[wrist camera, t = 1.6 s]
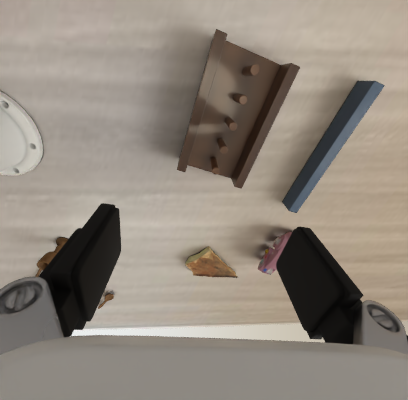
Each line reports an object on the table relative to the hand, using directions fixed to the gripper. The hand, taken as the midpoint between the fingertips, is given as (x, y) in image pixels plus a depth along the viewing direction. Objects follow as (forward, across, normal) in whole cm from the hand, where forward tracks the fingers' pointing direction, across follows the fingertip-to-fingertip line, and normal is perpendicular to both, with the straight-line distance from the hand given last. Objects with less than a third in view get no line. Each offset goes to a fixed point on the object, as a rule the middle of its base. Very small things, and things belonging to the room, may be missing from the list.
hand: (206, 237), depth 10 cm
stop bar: (+22, -19, -1) cm, 29 cm away
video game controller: (+22, -20, +19) cm, 35 cm away
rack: (+22, -4, -3) cm, 23 cm away
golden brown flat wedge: (+22, -7, +26) cm, 35 cm away
